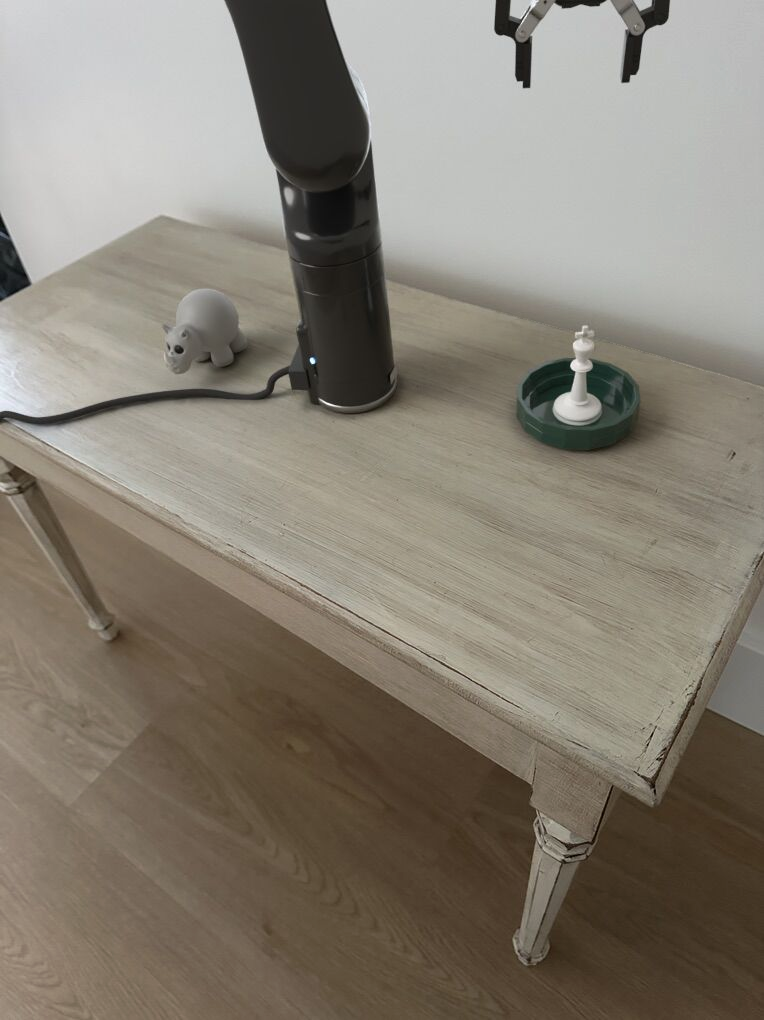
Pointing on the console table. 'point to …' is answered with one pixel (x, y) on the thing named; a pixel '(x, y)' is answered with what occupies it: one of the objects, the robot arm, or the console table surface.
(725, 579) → the console table surface
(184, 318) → the chubby cartoon animal
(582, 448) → the dish
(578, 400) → the chess piece
